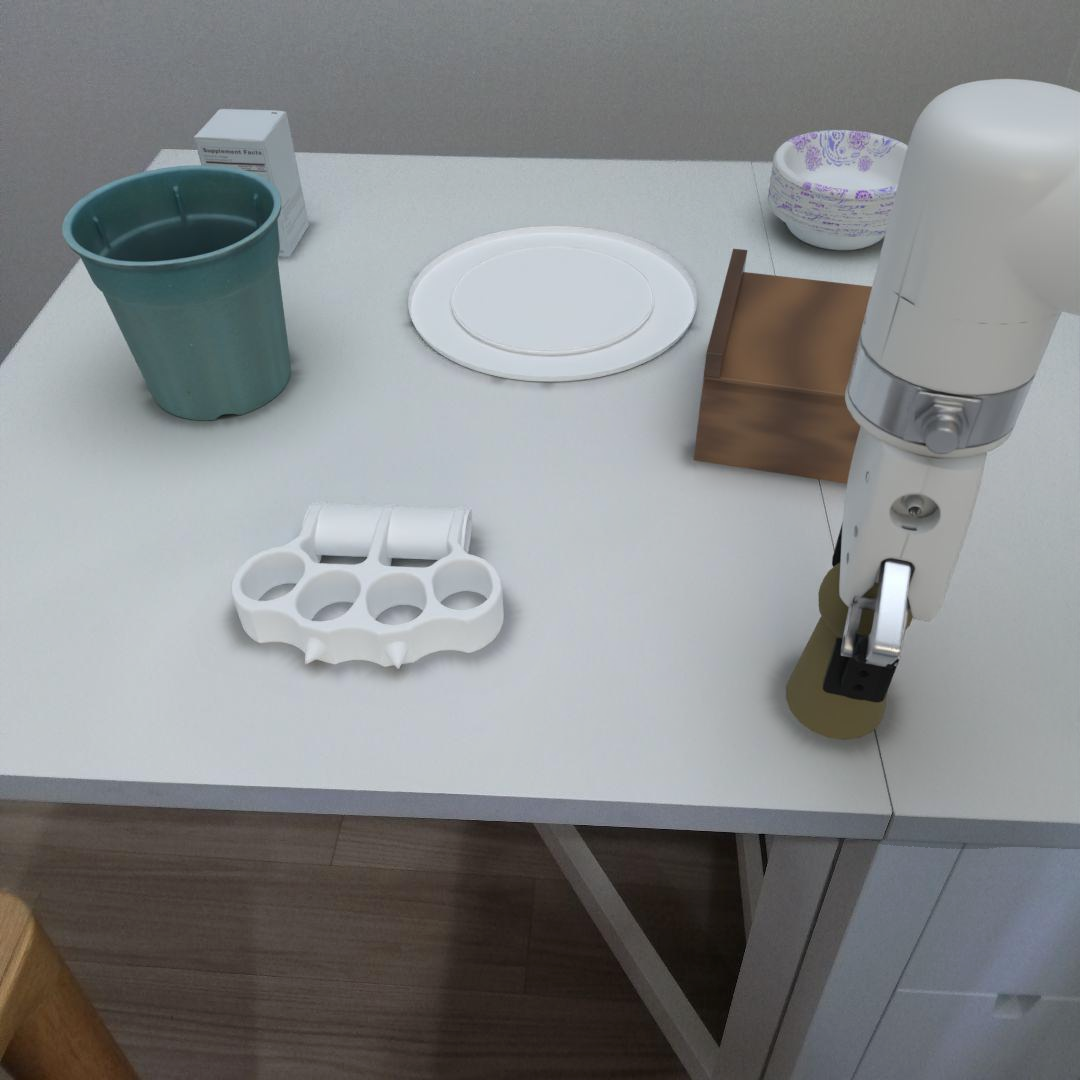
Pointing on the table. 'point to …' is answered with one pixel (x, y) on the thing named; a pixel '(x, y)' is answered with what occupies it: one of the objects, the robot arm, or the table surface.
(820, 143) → the paper bowls
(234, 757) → the table surface
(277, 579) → the knuckle duster
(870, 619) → the olive pawn figure
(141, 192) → the flower pot
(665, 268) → the plate
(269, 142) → the white packaging box
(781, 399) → the brown wooden box
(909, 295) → the robot arm
